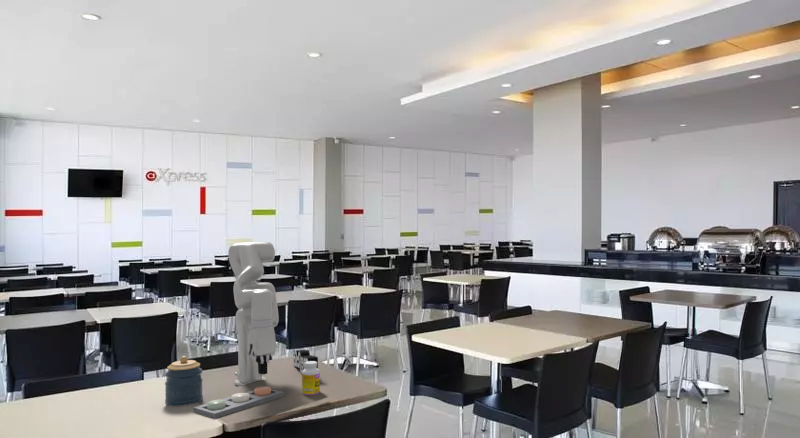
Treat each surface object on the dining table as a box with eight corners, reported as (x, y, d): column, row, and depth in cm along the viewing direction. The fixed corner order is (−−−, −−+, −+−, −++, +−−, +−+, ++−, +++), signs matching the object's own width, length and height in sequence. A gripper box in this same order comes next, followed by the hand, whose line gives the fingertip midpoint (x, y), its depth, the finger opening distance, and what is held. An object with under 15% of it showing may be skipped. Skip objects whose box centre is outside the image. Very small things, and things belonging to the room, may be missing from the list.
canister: (210, 400, 209) (210, 353, 210) (186, 411, 197) (186, 361, 198) (182, 398, 214) (181, 351, 214) (157, 408, 201) (156, 359, 202)
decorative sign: (318, 376, 235) (317, 351, 237) (308, 377, 233) (307, 352, 235) (302, 370, 264) (301, 348, 266) (293, 371, 263) (292, 349, 264)
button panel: (214, 422, 184) (214, 413, 184) (193, 416, 192) (193, 407, 192) (284, 400, 208) (284, 392, 208) (263, 395, 216) (262, 387, 216)
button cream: (228, 404, 199) (228, 395, 199) (242, 400, 204) (242, 391, 204) (238, 407, 196) (238, 398, 196) (252, 402, 201) (252, 394, 201)
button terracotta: (251, 397, 207) (251, 389, 207) (264, 393, 212) (263, 385, 212) (261, 400, 204) (261, 391, 204) (274, 396, 209) (274, 388, 209)
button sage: (203, 411, 191) (203, 402, 191) (218, 407, 196) (218, 398, 196) (214, 414, 188) (214, 405, 188) (229, 410, 193) (229, 401, 193)
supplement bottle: (316, 399, 209) (315, 364, 209) (299, 398, 210) (299, 364, 210) (322, 394, 215) (321, 360, 216) (306, 393, 217) (305, 360, 217)
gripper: (271, 320, 217) (271, 368, 216) (239, 325, 205) (239, 376, 204) (284, 322, 212) (285, 371, 211) (252, 327, 200) (253, 379, 199)
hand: (262, 373), depth 208 cm, fingers closed
